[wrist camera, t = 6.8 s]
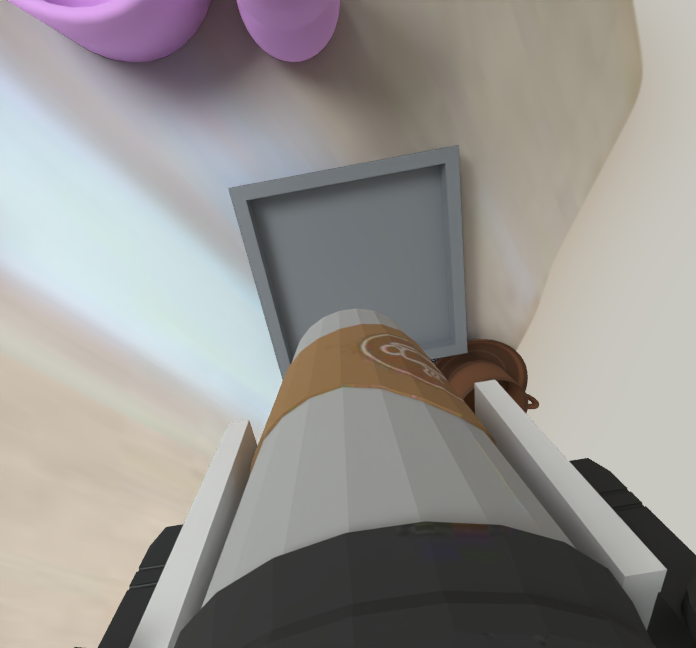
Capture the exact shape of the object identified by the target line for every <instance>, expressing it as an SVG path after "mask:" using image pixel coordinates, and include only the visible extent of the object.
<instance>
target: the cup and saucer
mask: <svg viewBox="0 0 696 648" xmlns="http://www.w3.org/2000/svg"><path fill="white" fill-rule="evenodd" d="M467 350H468V353H463V354H458V355H452V356H447V357H441V358H438V359H437V360H436V362H435V363H434V365H435V366H436V367H437V368H438V369H439V371H440V372H441V373H442V374H443V376H444V377H445V378H446V379H447V381H448V382H449V383H450V384H451V386H452V387H453V388H454V389H455V391H456V392H457V393H458V394H459V395H460V397H461V398H462V399H463V400H464V402H465V403H466V404H467V405H468V407H469V408H470V409H471V410H472V412H473V413H474V414H475V388H474V383H477V382H484V381H490V380H496V381H497V382H498V383H499V385H500V386H501V387H502V388H503V389H504V390H505V391H506V392H507V393H508V394H509V396H510V397H511V398H512V399H513V400H514V401H515V402H516V403H517V404H518V405H519V407H520V408H521V409H522V410H523V411H524V412H525V413H526V412H527V409H536V408H538V406H539V403H538V401H537V400H536V399H535V398H534V397H532V396H530V395H528V394H526V393H525V390H526V387H527V379H528V377H527V376H528V375H527V369H526V365H525V363H524V361H523V359H522V357H521V356H520V355H519V354H518V353H517V352H516V351H515V350H514V349H513V348H511V347H510V346H508V345H506V344H504V343H501V342H498V341H495V340H488V339H478V340H471V341H467ZM528 400H530V401H531V402H532V404H528Z"/></svg>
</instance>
